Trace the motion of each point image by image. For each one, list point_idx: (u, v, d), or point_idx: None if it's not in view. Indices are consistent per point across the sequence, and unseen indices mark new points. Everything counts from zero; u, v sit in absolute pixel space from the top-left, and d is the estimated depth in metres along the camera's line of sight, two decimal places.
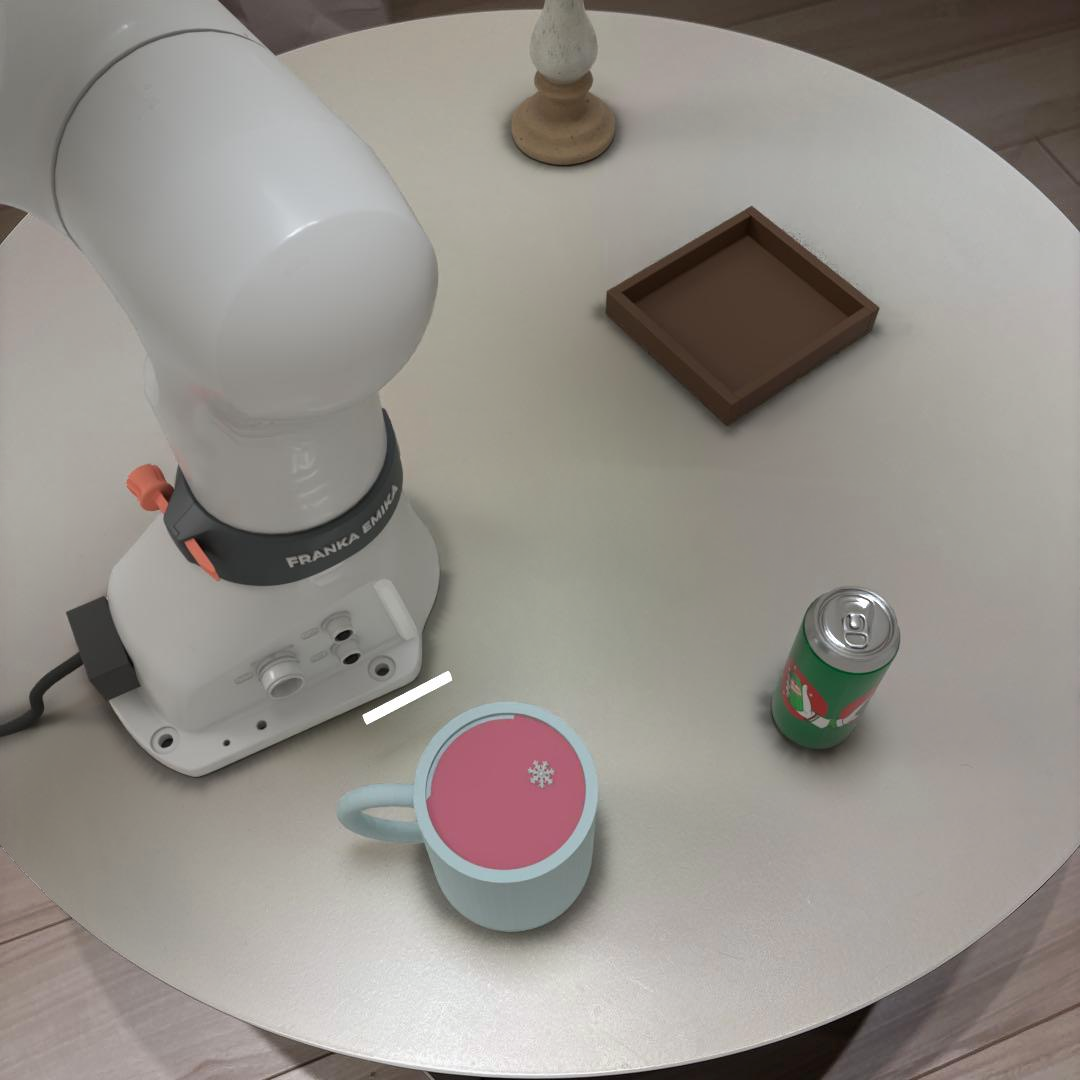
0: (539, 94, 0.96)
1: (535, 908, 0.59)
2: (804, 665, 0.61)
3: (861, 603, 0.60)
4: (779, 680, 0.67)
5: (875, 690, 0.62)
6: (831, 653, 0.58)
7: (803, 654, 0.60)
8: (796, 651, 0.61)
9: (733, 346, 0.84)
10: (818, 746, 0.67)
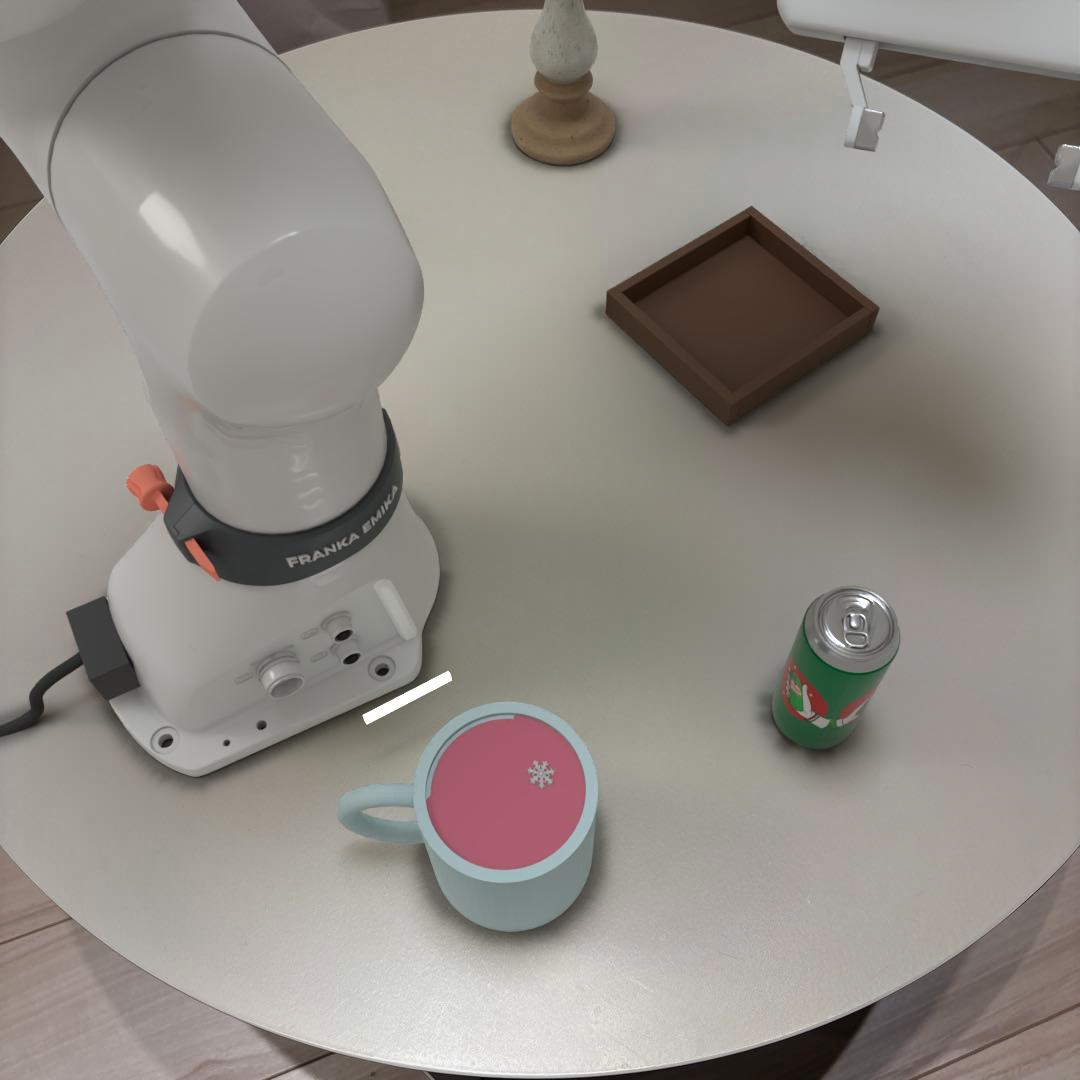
0: (539, 94, 0.96)
1: (535, 908, 0.59)
2: (804, 665, 0.61)
3: (861, 603, 0.60)
4: (779, 680, 0.67)
5: (875, 690, 0.62)
6: (831, 653, 0.58)
7: (803, 654, 0.60)
8: (796, 651, 0.61)
9: (733, 346, 0.84)
10: (818, 746, 0.67)
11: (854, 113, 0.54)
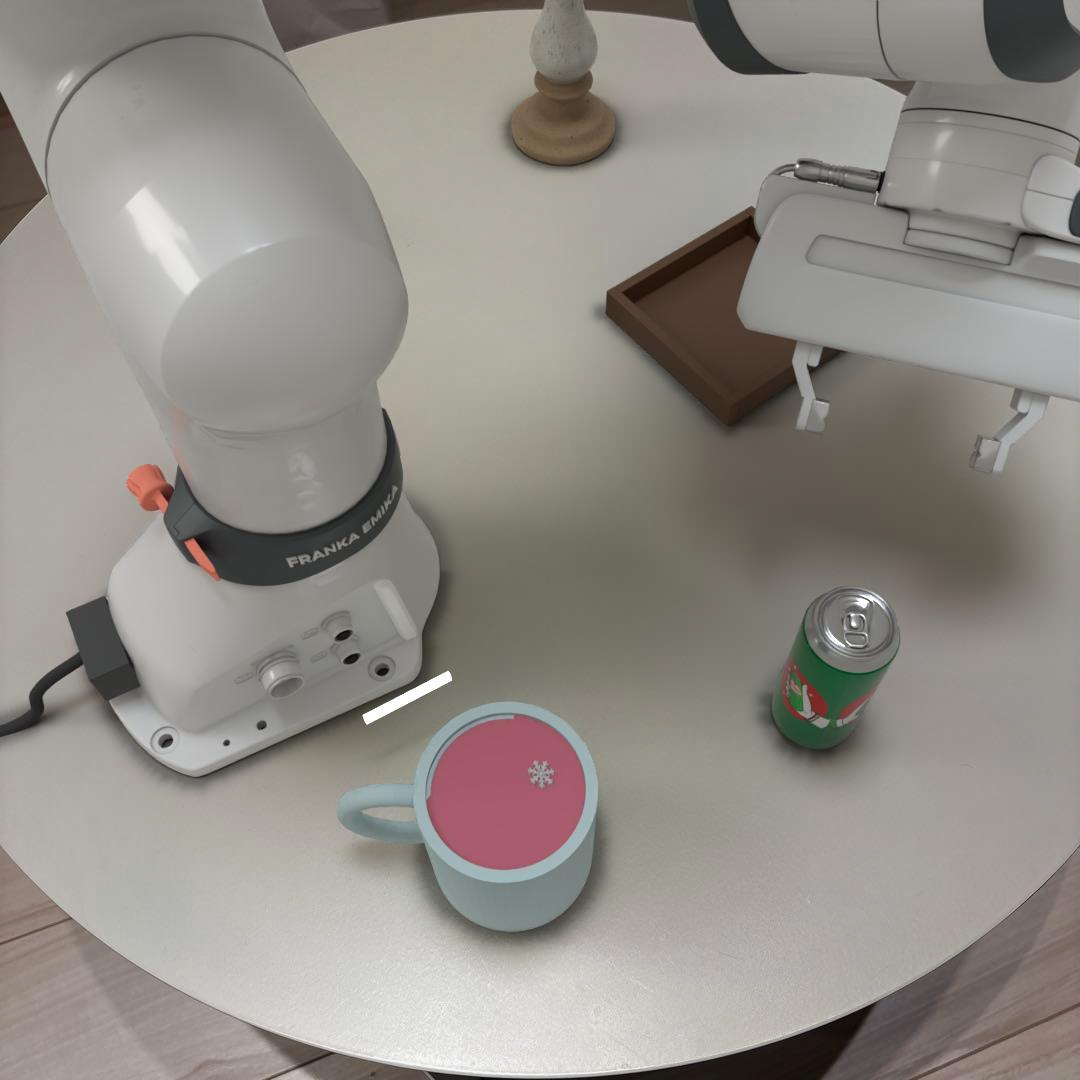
0: (539, 94, 0.96)
1: (535, 908, 0.59)
2: (804, 665, 0.61)
3: (860, 603, 0.60)
4: (779, 680, 0.67)
5: (875, 690, 0.62)
6: (831, 653, 0.58)
7: (803, 654, 0.60)
8: (796, 651, 0.61)
9: (733, 346, 0.84)
10: (818, 746, 0.67)
11: (805, 403, 0.61)
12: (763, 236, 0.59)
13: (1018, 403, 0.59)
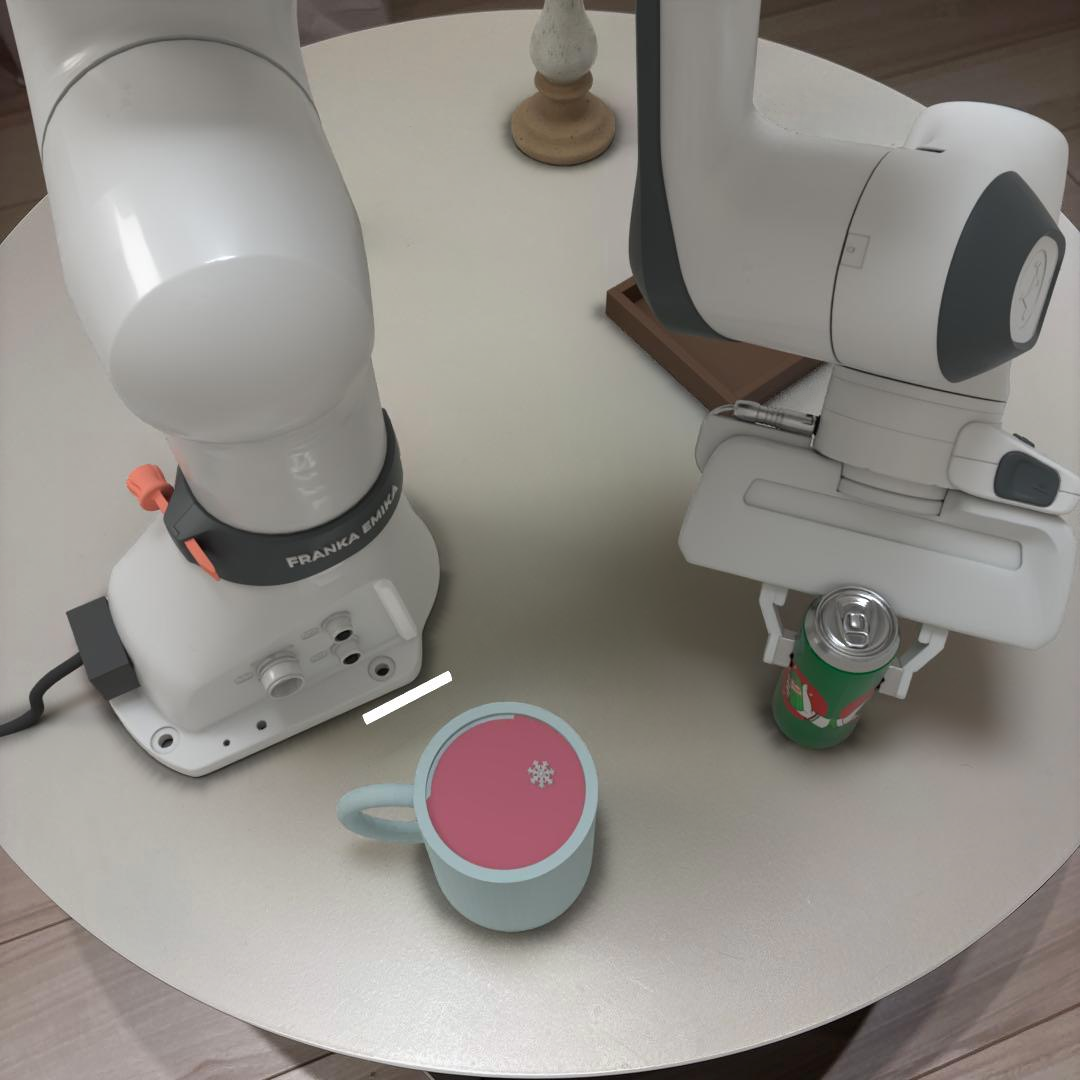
0: (539, 94, 0.96)
1: (535, 908, 0.59)
2: (804, 665, 0.61)
3: (860, 603, 0.60)
4: (779, 680, 0.67)
5: (875, 690, 0.62)
6: (831, 653, 0.58)
7: (803, 653, 0.60)
8: (796, 651, 0.62)
9: (733, 346, 0.84)
10: (818, 746, 0.67)
11: (771, 639, 0.63)
12: (702, 477, 0.61)
13: (919, 633, 0.61)
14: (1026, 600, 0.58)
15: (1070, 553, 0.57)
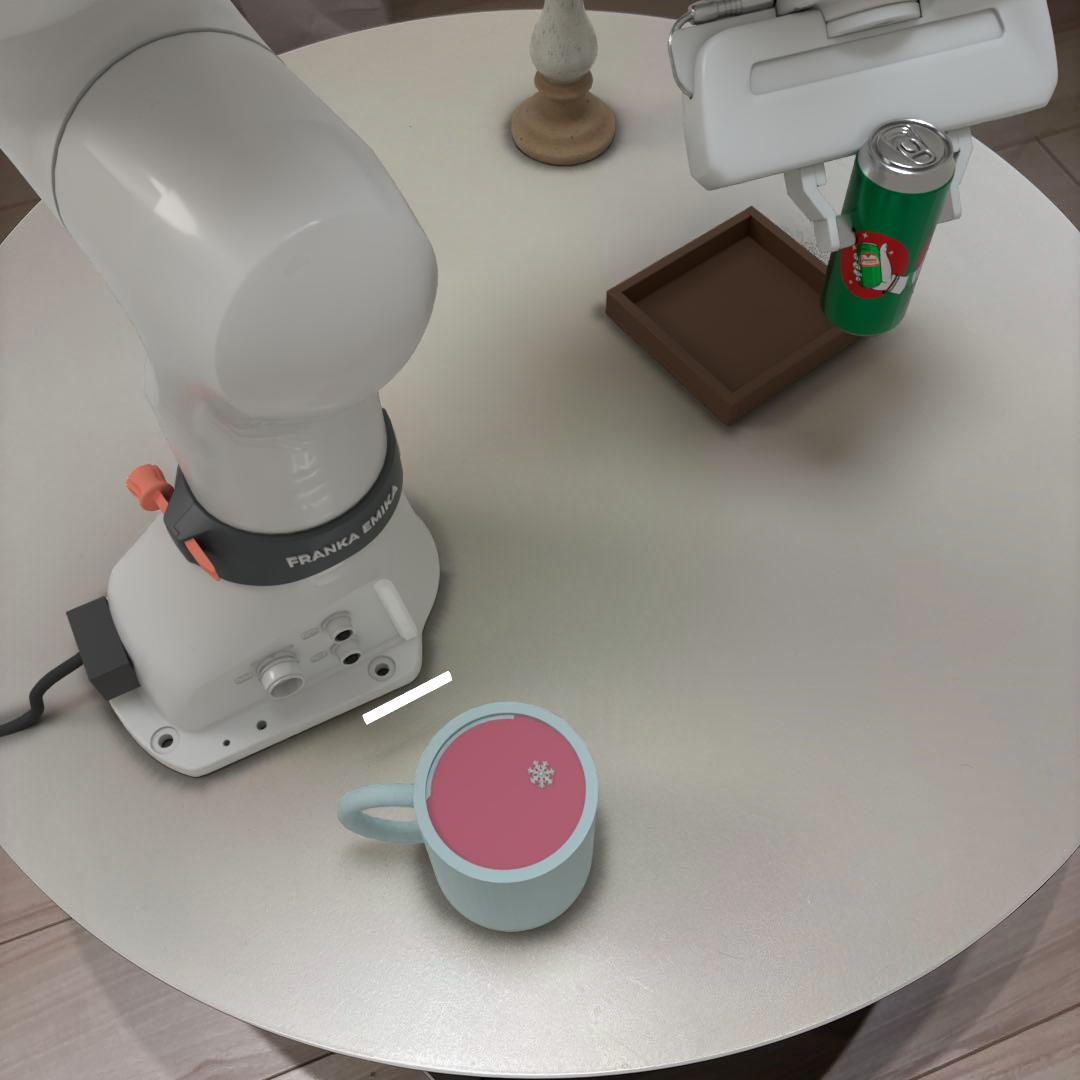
0: (539, 94, 0.96)
1: (535, 908, 0.59)
2: (880, 219, 0.59)
3: (899, 133, 0.59)
4: (833, 280, 0.65)
5: None
6: (911, 180, 0.57)
7: (877, 206, 0.59)
8: (862, 215, 0.60)
9: (733, 346, 0.84)
10: (893, 324, 0.66)
11: (830, 223, 0.61)
12: (703, 89, 0.57)
13: None
14: (1022, 59, 0.60)
15: None
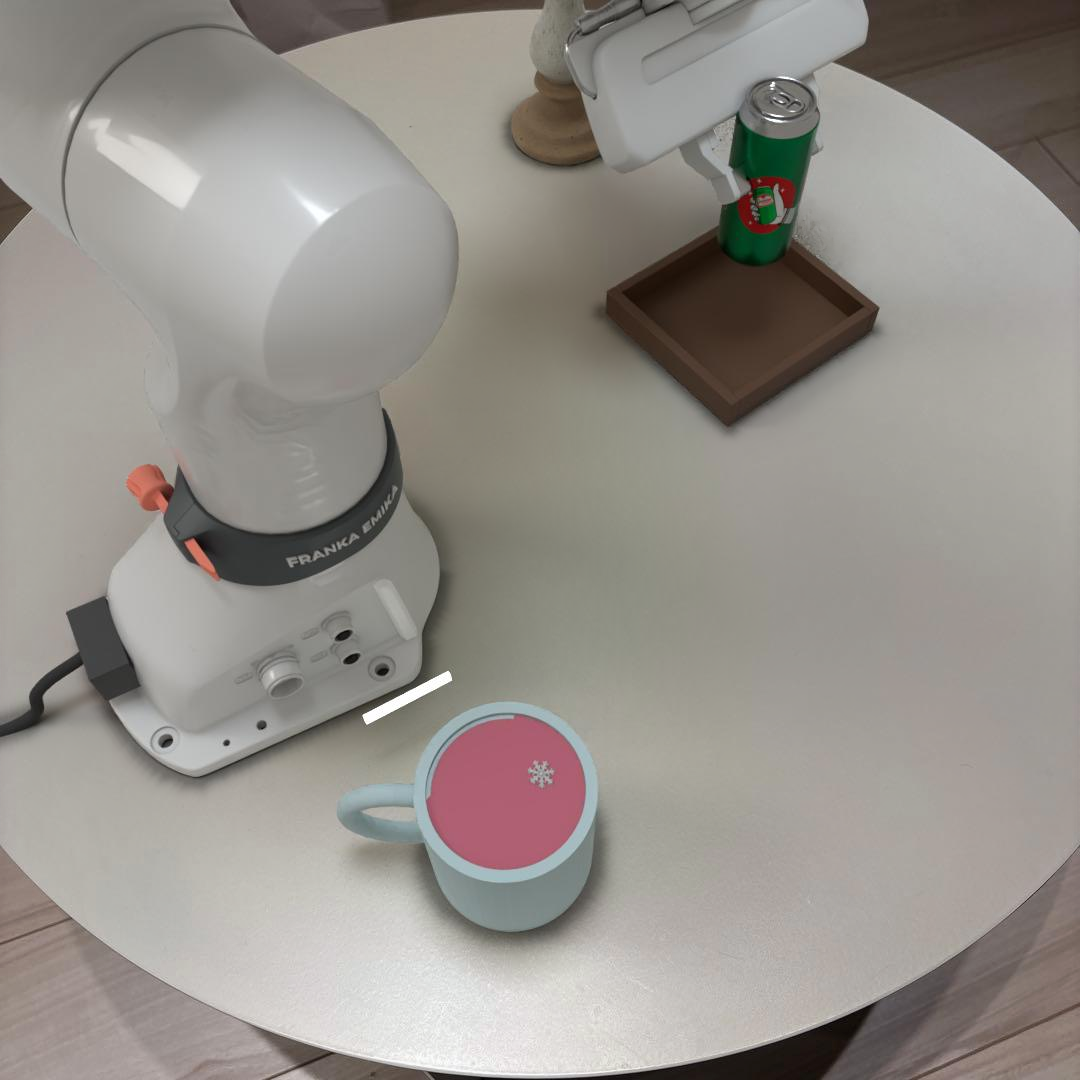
0: (539, 94, 0.96)
1: (535, 908, 0.59)
2: (771, 165, 0.70)
3: (767, 90, 0.70)
4: (733, 225, 0.75)
5: None
6: (792, 127, 0.68)
7: (767, 154, 0.70)
8: (755, 165, 0.71)
9: (733, 346, 0.84)
10: (786, 250, 0.77)
11: (729, 178, 0.71)
12: (608, 89, 0.66)
13: None
14: (839, 10, 0.72)
15: None
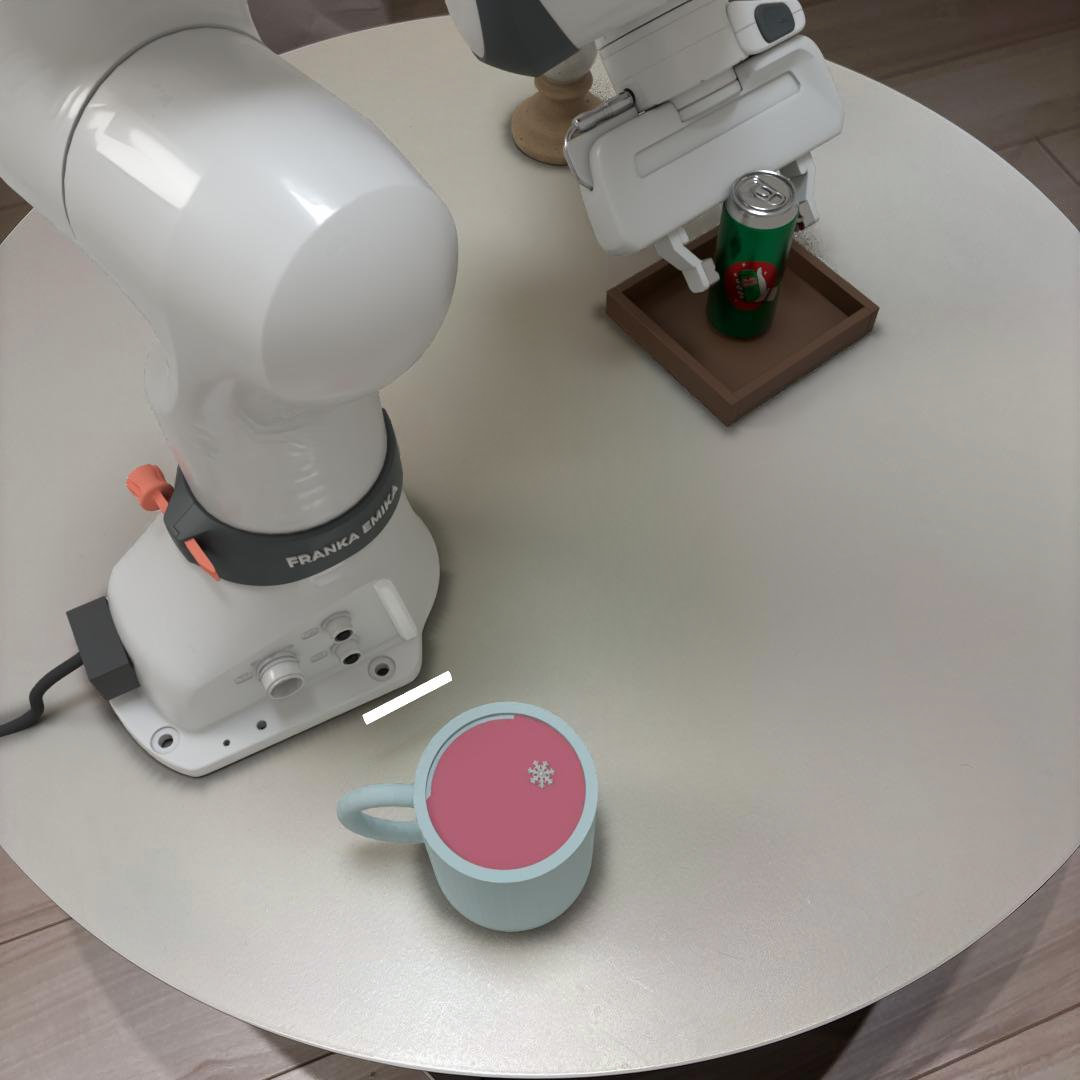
0: (539, 94, 0.96)
1: (535, 908, 0.59)
2: (755, 251, 0.76)
3: (751, 183, 0.76)
4: (720, 302, 0.82)
5: None
6: (774, 218, 0.74)
7: (751, 242, 0.76)
8: (739, 251, 0.77)
9: (733, 346, 0.84)
10: (769, 323, 0.84)
11: (698, 270, 0.76)
12: (604, 183, 0.72)
13: (798, 169, 0.79)
14: (817, 104, 0.78)
15: (818, 52, 0.77)
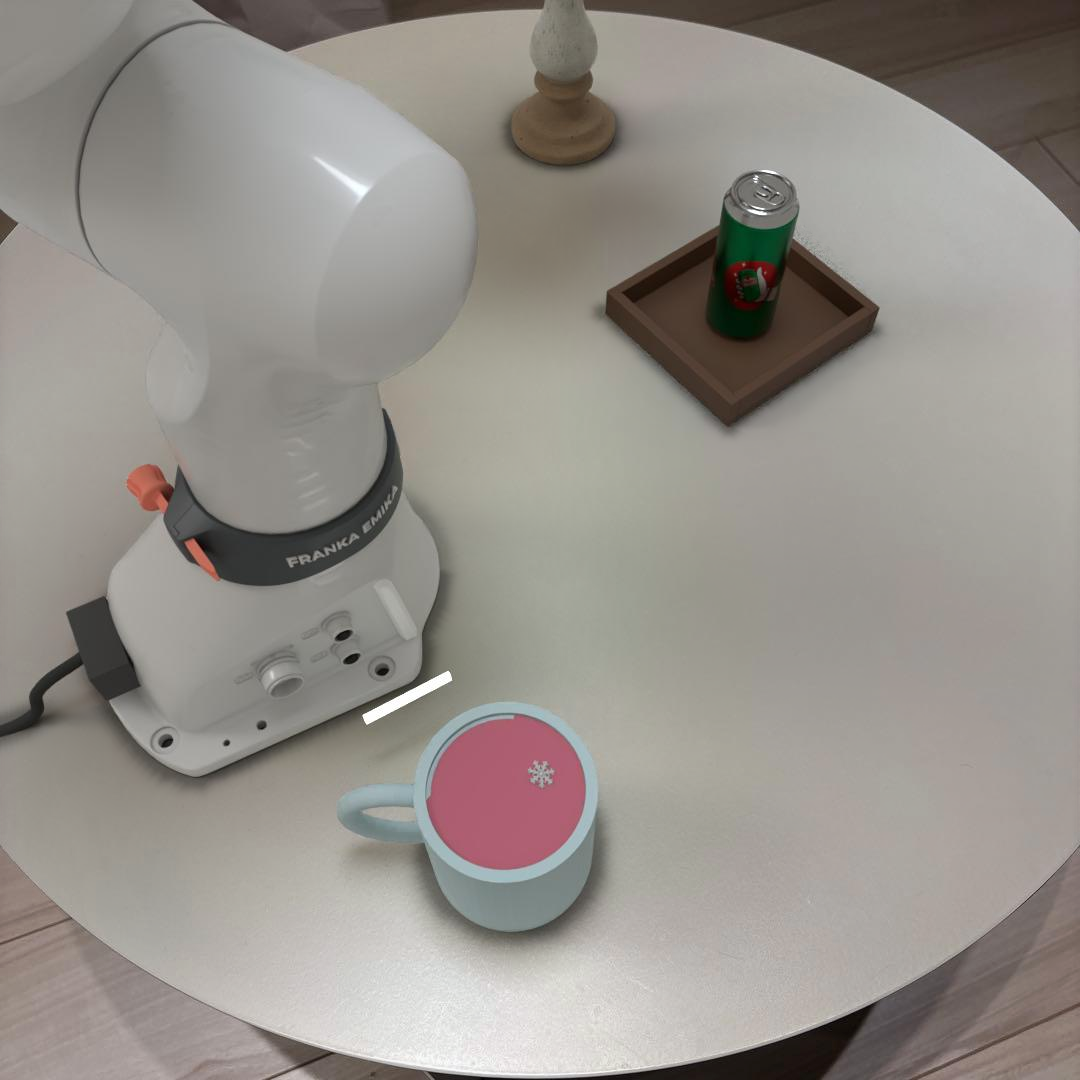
0: (539, 94, 0.96)
1: (535, 908, 0.59)
2: (755, 251, 0.76)
3: (751, 183, 0.76)
4: (720, 302, 0.82)
5: None
6: (773, 218, 0.74)
7: (751, 242, 0.76)
8: (739, 250, 0.77)
9: (733, 346, 0.84)
10: (769, 323, 0.84)
11: None
12: None
13: None
14: None
15: None
